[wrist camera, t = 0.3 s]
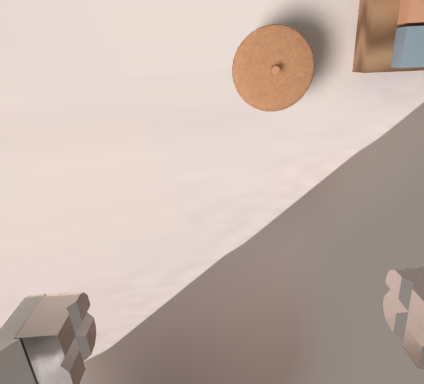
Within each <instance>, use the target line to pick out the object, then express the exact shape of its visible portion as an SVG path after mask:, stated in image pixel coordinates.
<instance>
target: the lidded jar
mask: <svg viewBox="0 0 424 384" xmlns="http://www.w3.org/2000/svg"><path fill="white" fill-rule="evenodd" d="M313 73H314V57H313V53H312V50H311V47H310V45H309V43H308V42H307V40H306V39H305V38H304V37H303V35H301V34H300V33H299V32H298V31H296V30H295V29H293V28H291V27H288V26H285V25H268V26H264V27H261V28H259V29H257V30H255V31H253V32H252V33H251V34H250V35H248V36H247V37H246V38H245V39H244V40H243V41H242V43H241V44H240V46H239V47H238V49H237V52H236V54H235V57H234V60H233V66H232V75H233V81H234V84H235V87H236V89H237V91H238V93H239V95H240V96H241V97H242V99H243V100H244V101H245V102H246V103H248V104H249V105H251V106H252V107H254V108H256V109H259V110H262V111H279V110H283V109H286V108H288V107H290V106H292V105H293V104H295V103H296V102H297V101H298V100H299V99H300V98H301V97H302V96H303V95H304V94H305V93H306V91H307V89H308V88H309V86H310V83H311V81H312V78H313Z"/></svg>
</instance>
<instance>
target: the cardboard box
mask: <svg viewBox="0 0 424 384" xmlns="http://www.w3.org/2000/svg"><path fill="white" fill-rule="evenodd" d="M399 7H400V0H360V5H359V14H358V24H357V34H356V43H355V53H354V62H353V72H362V73H371V72H394V71H416V70H424V67H415V68H391V64H392V57H393V50H394V43H395V36H396V29H397V28H401V27H406V26H424V24H406V25H397V21H398V14H399Z"/></svg>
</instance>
